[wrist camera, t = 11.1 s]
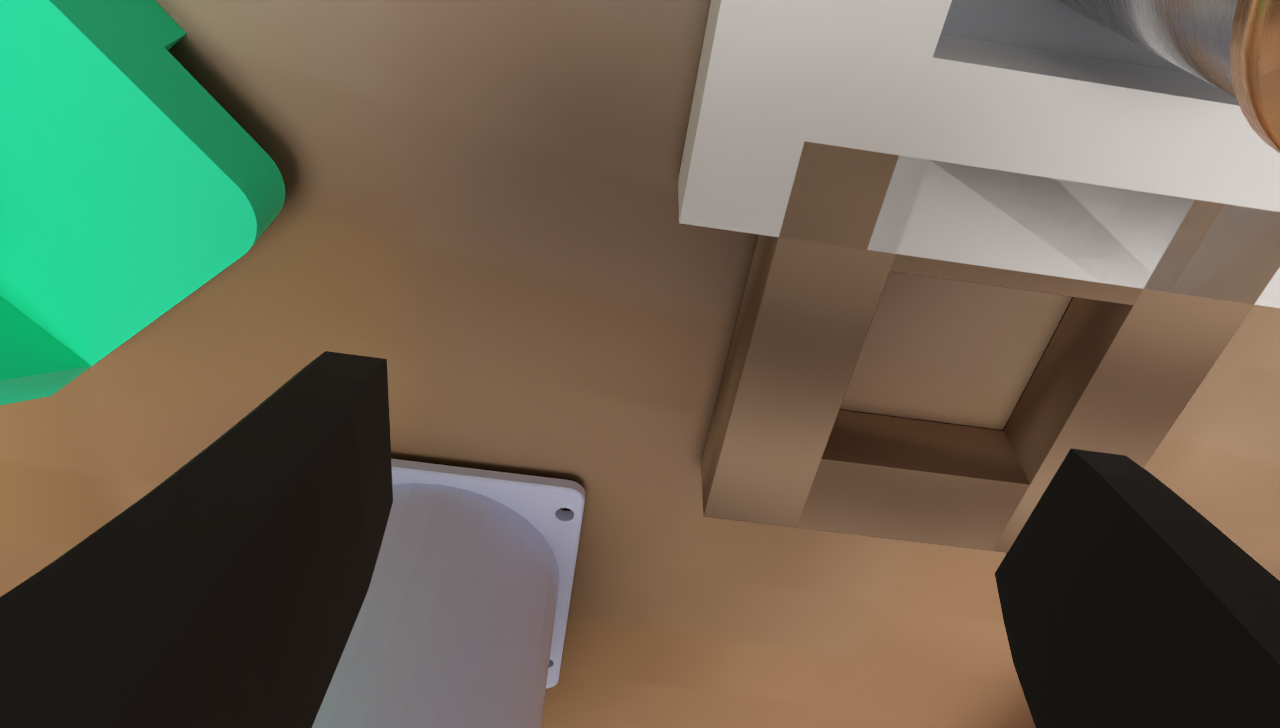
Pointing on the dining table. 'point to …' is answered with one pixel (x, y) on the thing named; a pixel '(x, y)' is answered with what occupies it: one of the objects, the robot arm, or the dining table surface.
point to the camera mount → (109, 185)
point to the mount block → (936, 452)
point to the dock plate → (970, 131)
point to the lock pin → (1209, 46)
